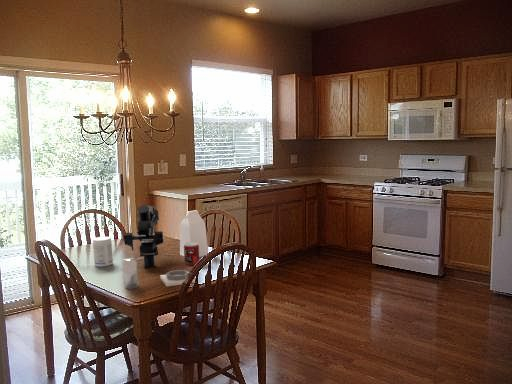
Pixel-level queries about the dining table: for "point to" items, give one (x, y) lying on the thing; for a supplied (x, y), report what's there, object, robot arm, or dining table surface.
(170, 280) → the flange plate
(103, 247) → the supplement tub
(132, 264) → the tube
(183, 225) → the milk
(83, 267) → the dining table surface
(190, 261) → the canned food
